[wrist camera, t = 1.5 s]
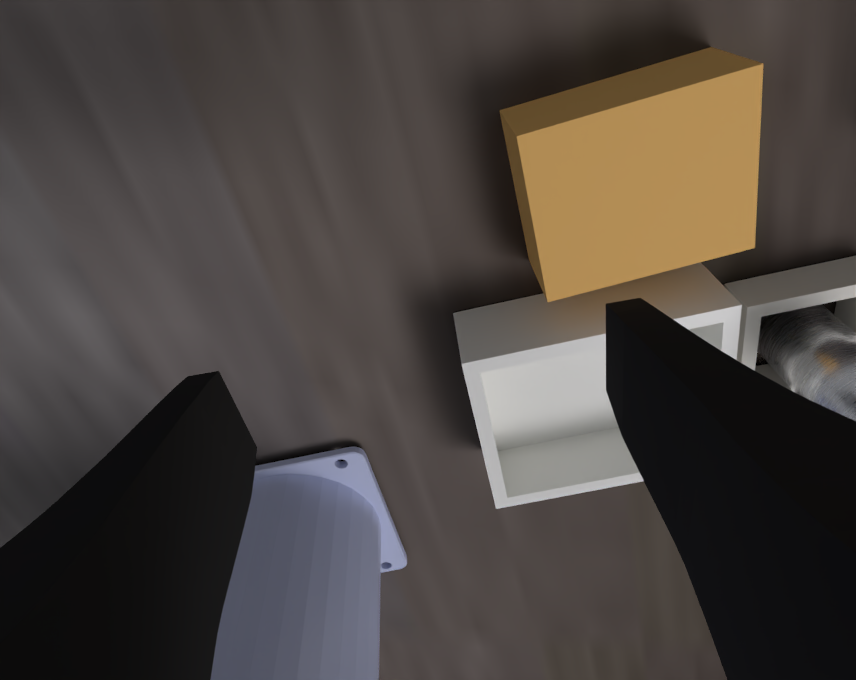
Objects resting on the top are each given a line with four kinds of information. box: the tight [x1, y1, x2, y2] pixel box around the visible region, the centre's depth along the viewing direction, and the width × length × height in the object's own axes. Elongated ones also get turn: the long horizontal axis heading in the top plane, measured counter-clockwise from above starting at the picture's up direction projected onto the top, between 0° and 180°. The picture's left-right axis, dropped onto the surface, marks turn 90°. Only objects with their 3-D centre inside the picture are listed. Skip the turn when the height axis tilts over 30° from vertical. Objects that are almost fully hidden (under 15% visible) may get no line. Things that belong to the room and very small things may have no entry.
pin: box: [757, 304, 856, 421], centre depth 19 cm, size 3×3×7 cm
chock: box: [499, 47, 763, 302], centre depth 17 cm, size 6×5×3 cm
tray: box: [453, 262, 742, 509], centre depth 21 cm, size 8×7×3 cm
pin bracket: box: [724, 256, 856, 391], centre depth 21 cm, size 5×5×2 cm
